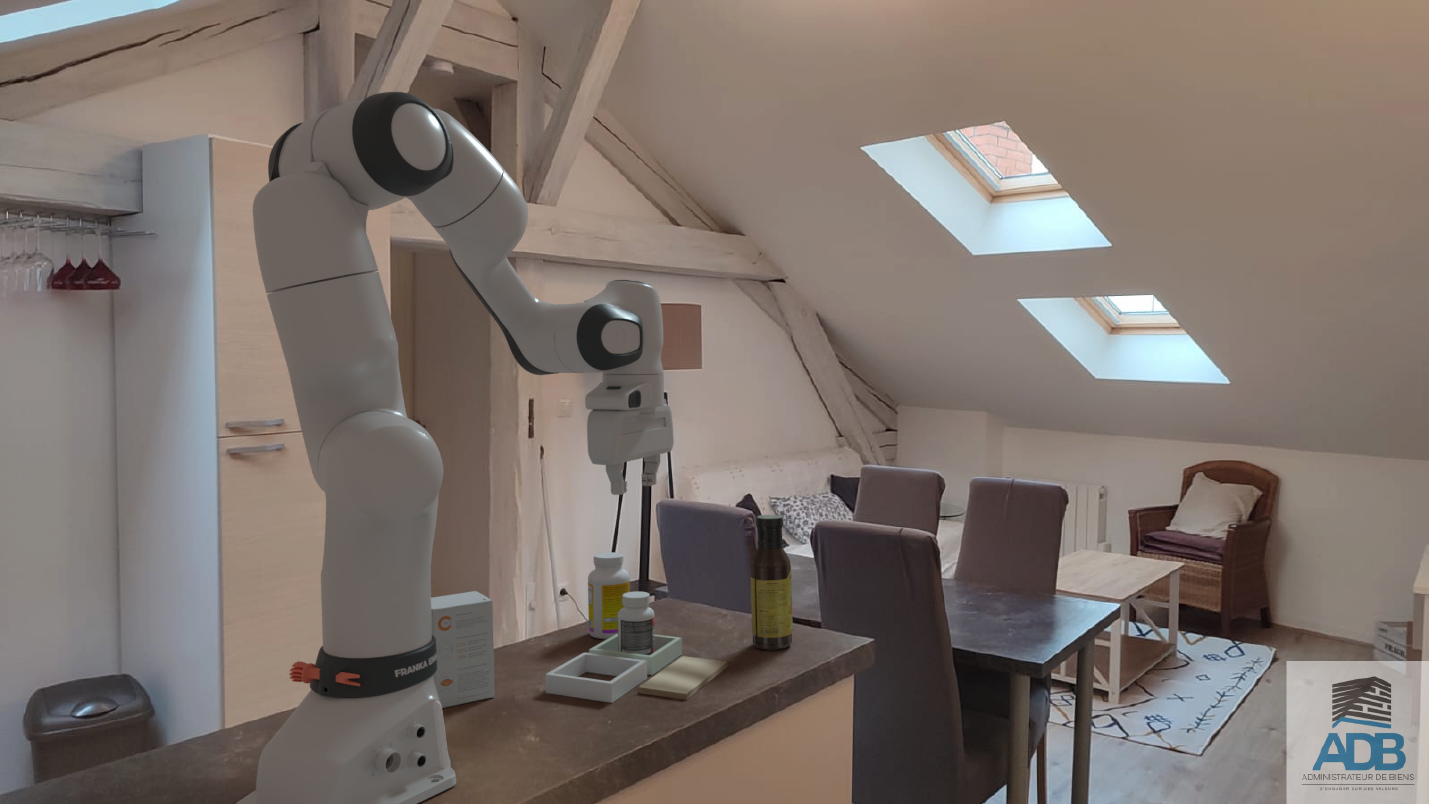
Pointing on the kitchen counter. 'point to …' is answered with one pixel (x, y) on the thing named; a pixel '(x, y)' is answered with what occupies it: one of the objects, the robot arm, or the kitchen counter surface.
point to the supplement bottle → (606, 594)
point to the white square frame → (607, 691)
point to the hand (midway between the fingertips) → (634, 489)
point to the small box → (463, 647)
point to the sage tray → (663, 655)
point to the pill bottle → (636, 624)
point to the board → (683, 677)
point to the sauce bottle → (771, 587)
